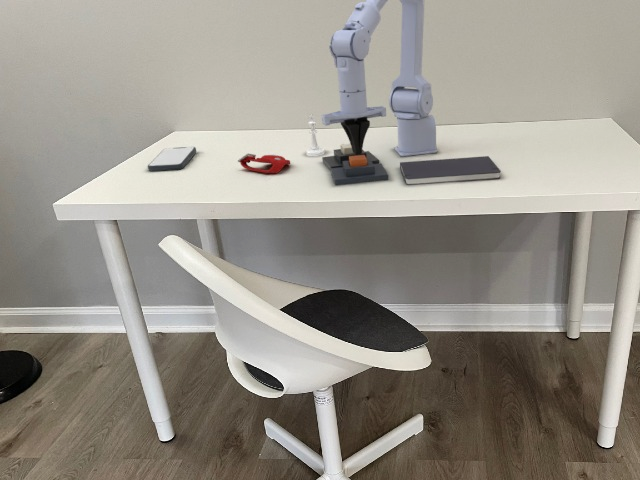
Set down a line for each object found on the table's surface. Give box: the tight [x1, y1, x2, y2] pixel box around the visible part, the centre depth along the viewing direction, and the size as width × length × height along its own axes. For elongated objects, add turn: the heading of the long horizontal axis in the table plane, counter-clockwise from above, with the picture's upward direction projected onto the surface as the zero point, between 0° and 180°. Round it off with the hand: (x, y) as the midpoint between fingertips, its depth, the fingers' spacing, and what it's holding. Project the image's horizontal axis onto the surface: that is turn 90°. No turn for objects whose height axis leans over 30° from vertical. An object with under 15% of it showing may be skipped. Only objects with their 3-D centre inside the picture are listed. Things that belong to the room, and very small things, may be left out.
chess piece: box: [305, 113, 326, 157], centre depth 160 cm, size 5×5×10 cm
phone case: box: [147, 146, 197, 172], centre depth 161 cm, size 9×2×16 cm
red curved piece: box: [237, 153, 291, 174], centre depth 150 cm, size 12×4×10 cm
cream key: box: [339, 143, 353, 154], centre depth 151 cm, size 4×4×2 cm
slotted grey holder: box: [330, 159, 389, 186], centre depth 142 cm, size 12×9×3 cm
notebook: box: [399, 155, 501, 186], centre depth 142 cm, size 13×2×21 cm
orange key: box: [349, 155, 367, 167], centre depth 141 cm, size 4×4×2 cm
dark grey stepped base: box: [321, 148, 380, 172], centre depth 152 cm, size 12×9×3 cm
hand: (357, 152), depth 140 cm, fingers closed
